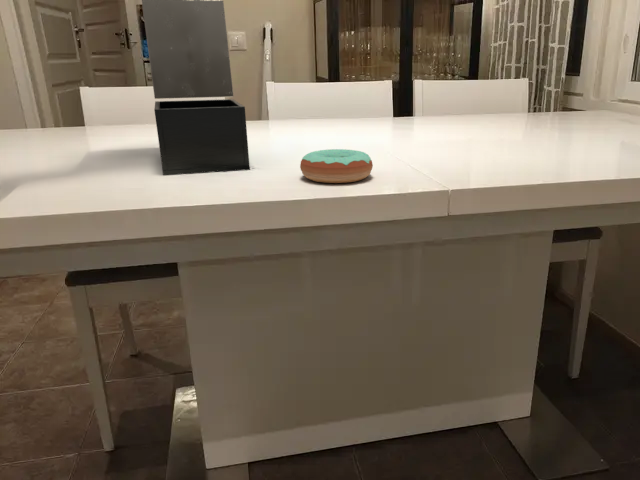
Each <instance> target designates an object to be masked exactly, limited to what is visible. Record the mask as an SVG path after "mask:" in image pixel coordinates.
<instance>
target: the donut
mask: <svg viewBox="0 0 640 480" xmlns="http://www.w3.org/2000/svg"><path fill="white" fill-rule="evenodd" d="M373 166H374V164H373V160H372V159H371V157H370V156H369V154H368V153H366V152H364V151H360V150H355V149H346V148H345V149H343V148H342V149H341V148H339V149H337V148H336V149H335V148H333V149H332V148H331V149H320V150H314V151H310V152H308V153H307V154H305V155H304V156H303V157H302V159H301V160H300V164H299V168H300V171H301V173H302V175H303V176H304V177H305V178H307V179H308V180H310V181H312V182H317V183H325V184H345V183H347V184H348V183H354V182H359V181H362V180H364V179H366V178H367V177H369V176H370V174H371V173H372V170H373Z"/></svg>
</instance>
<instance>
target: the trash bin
mask: <svg viewBox="0 0 640 480" xmlns="http://www.w3.org/2000/svg"><path fill="white" fill-rule="evenodd" d="M153 108H154V118H155V124H156V134H157V137H158V138H157V139H158V146H159V154H160V161H161V168H162V175H163V176H173V175H188V174H189V175H190V174H202V173H204V174H205V173H217V172H233V171H234V172H235V171H248V170H251V168H250V166H251V165H250V155H249V154H250V153H249V144H248V142H249V141H248V131H247V117H246V115H247V114H246V107H245V105H243V104H241V103H240V102H239V101H237V100H235V99H234V98H229V99H228V98H227V99H225V98H224V99H190V100H189V99H187V100H155V101H154V107H153Z"/></svg>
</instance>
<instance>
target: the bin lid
mask: <svg viewBox="0 0 640 480" xmlns="http://www.w3.org/2000/svg"><path fill="white" fill-rule="evenodd" d="M141 5H142V13H143V21H144V28H145V29H144V30H145V36H146V43H147V51H148V58H149V66H150V73H151V81H152V89H153V96H154V99H155V100H173V99H177V100H178V99H210V98H212V99H213V98H233V97H234V89H233V79H232V72H231V71H232V68H231V61H230V49H229V40H228V32H227V23H226V14H225V3H224V0H141Z"/></svg>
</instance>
